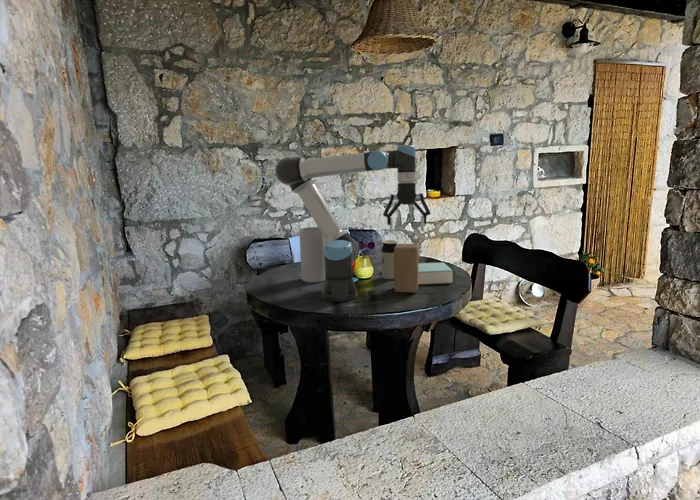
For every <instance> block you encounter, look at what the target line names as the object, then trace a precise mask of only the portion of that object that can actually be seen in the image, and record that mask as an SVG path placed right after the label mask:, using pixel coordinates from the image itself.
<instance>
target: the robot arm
mask: <svg viewBox="0 0 700 500" xmlns="http://www.w3.org/2000/svg"><path fill="white" fill-rule="evenodd" d="M389 169H391V170H392V169H397V182H398V183H397V193H396V194H393V193H391V194H390V195H389V200H388V203H387V205H386V207H385V210H384V211H383V213H382V215H383V216H384V218H385V217H386V221H387V222H386V223H387V225H388V226H389V233H390V234H393V233H394V232H393V229H394V228H393V227H394V226H393V217H392V216H393V215H394V214H395V212H396V211H397V209H399V207H400V206H401V205H403V206H405V205H411V204H413V206H414V207H415V208H416V209H417V210H418V211H419V213H420V214H421V215H420V231H421V232H422V233H423V232H425V224H427V216H429V215H431V214H432V213H431V210H430V209H429V206H428V205H427V203H426V201H425V198H424V194H423V193H422V192H420V193H416V146H414V145H413V144H409V145H408V144H405V145H403V144H402V145H401V144H400V145H398V146H397V147H396V149H394V150H378V149H377V150H372V151H366V152H357V153H350V154H349V153H348V154H341V155H335V156H333V155H332V156H326V157H325V156H324V157H317V158H309V159H305V158H304V157H300V156H291V157H289V156H288V157H284V158H281V159H280V160H279V161H278V162H277V163H276V165H275V169H274V170H275V172H274V173H275V176H276V178H277V180H278V181H279V182H280V183H281V184H283V185H285V186H286V185H287V186H288V187H289V188H290V190H291V191H292V193H294V194H298V196H299V198H300V200H301V201H302V203H303V204H304V206H305V208H306V209H307V212H309V214H310V216H311V217H312V219H313V221H314V223H315V224H316V225H317V226H316V227H319V229H320V231H321V232H322V234H323V236H324V237H325V239H326V243H325V247H324V259H325V281H323V286H322V289H321V298H322V299H323V300H324V301H327V302H338V303H339V302H340V303H341V302H347V301H348V302H349V301H353V300H355V299H356V298H357V297H358V289H357V287H356V284H355V282H354V279H353V278H354V277H353V264H354V263H355V262H356V261H357V260H358V259H359V258H358V257H359V253H360V246H359V243H358V242H357V241H356V240H355V239H354V238H352V237H351V235H350V234H349V232H348V231H347V230H343V228H342V227H341V225H340V223H339V222H338V220H337V219H336V217H335V215H334V214H333V212H332V210H331V209H330V207H329V206H328V204H327V202H326V201H325V199H324V197H323V195H322V194H321V192H320V191H319V189H318V187H317V185H316V184H315V182H316V178H322V177H330V176H338V175H347V174H354V173H355V174H356V173H364V172H371V171H372V172H373V171H382V170H389ZM396 198H397V200H398V201H397V202H396V204H395V205H394V206H393V207H392V205H393V203H394V201H395V200H396ZM416 199H419V201H420V203H421V205H422V206H423V208H424V210H425V211H424V210H423V209H422V207H421V206H420V204H419V203H417V202H416ZM391 207H392V209H391V210H390V208H391Z"/></svg>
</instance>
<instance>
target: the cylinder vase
mask: <svg viewBox="0 0 700 500" xmlns="http://www.w3.org/2000/svg"><path fill="white" fill-rule="evenodd" d="M298 230H299V231H298V233H299V249H300V251H299V252H300V253H299V254H300V270H301V272H300V273H301V274H300V275H301V281H302V282H304V283H313V284H314V283H321V282H325V259H324V247H325V243H326V239H325V237H324V236H323V234H322V232H321V231H320V229H319V227H318V226H313V227H312V226H310V227H308V226H307V227H301V228H300V229H298Z"/></svg>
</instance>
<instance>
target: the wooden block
mask: <svg viewBox="0 0 700 500" xmlns="http://www.w3.org/2000/svg"><path fill="white" fill-rule="evenodd" d="M418 264H419V245H418V243H417V244H416V243H397V244H396V246H395V248H394V279H393V289H394V292H395V293H413V294H414V293H417V292H418V288H419V284H418Z"/></svg>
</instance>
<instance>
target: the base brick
mask: <svg viewBox="0 0 700 500" xmlns="http://www.w3.org/2000/svg"><path fill="white" fill-rule="evenodd" d="M453 272H454V271H453V269H452V268H451V267H449V266H448V264H446V263H445V262H427V263H426V262H425V263H423V262H422V263H418V285H434V284H452V283H453Z"/></svg>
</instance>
